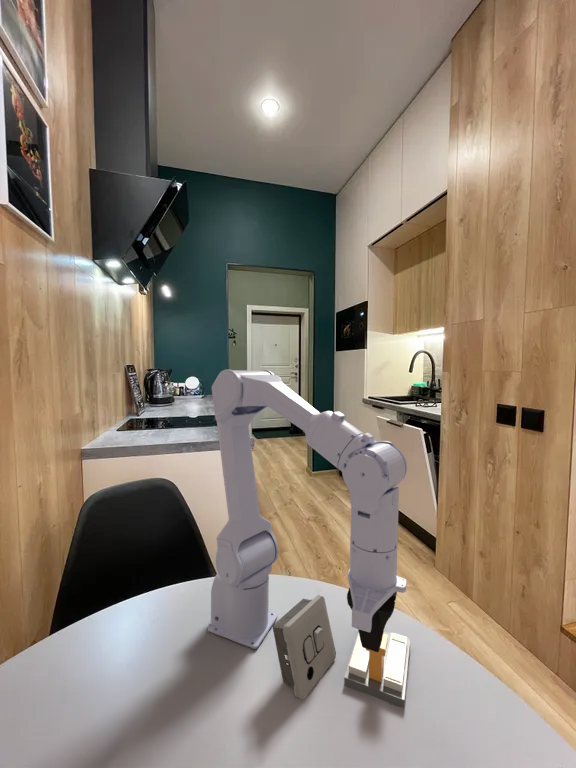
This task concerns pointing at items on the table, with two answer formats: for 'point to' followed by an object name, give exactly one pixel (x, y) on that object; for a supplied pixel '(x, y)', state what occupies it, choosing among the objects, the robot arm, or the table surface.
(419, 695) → the table surface
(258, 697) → the table surface
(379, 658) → the breaker handle
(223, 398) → the robot arm
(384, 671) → the breaker base
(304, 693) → the electrical switch
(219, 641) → the table surface
